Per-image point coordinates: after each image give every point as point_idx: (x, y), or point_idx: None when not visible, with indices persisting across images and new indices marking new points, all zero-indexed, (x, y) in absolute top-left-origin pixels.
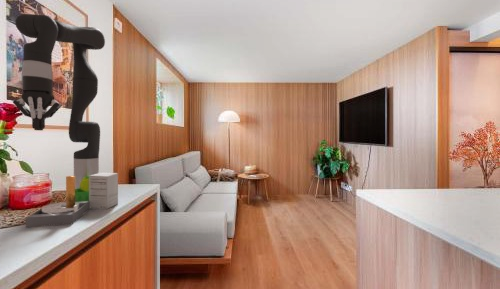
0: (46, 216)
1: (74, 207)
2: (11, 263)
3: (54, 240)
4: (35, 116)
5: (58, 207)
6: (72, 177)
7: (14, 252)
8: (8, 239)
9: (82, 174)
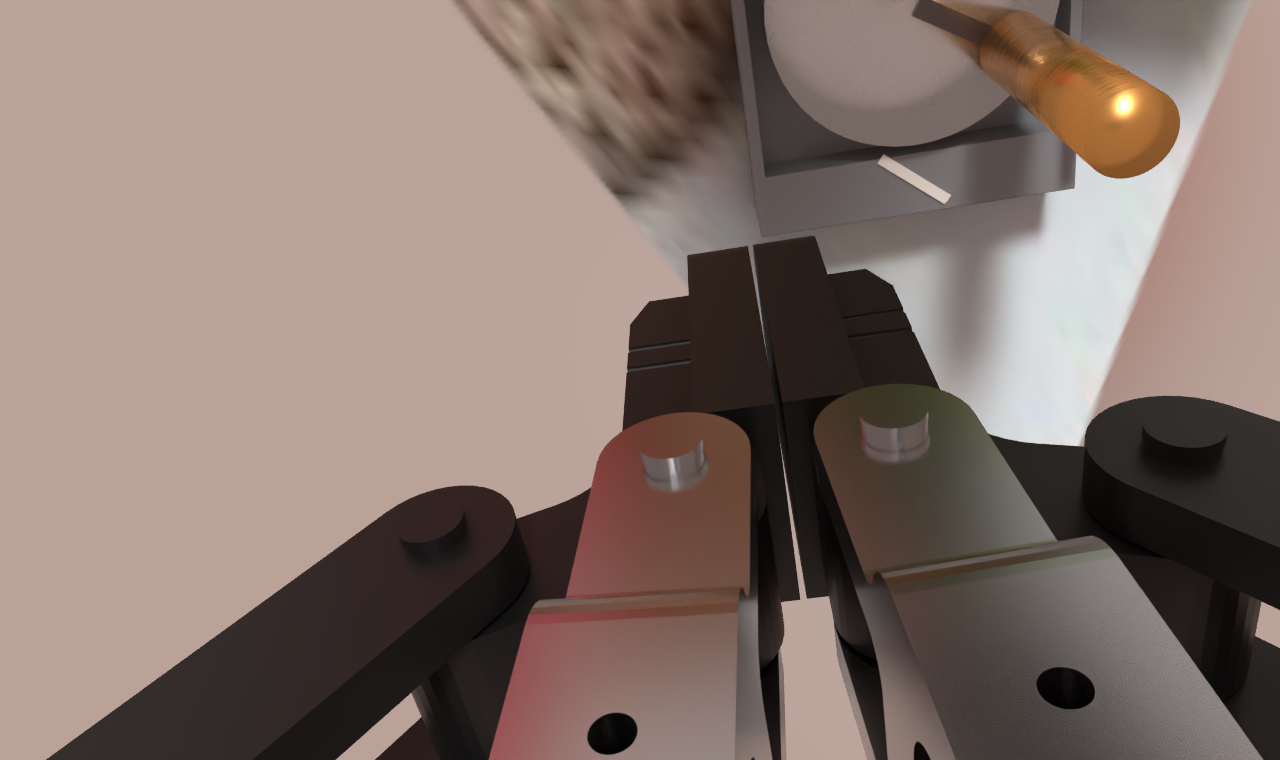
0: (893, 214)
1: None
2: None
3: (1039, 410)
4: (782, 673)
5: (910, 55)
6: (1157, 157)
7: None
8: None
9: None
